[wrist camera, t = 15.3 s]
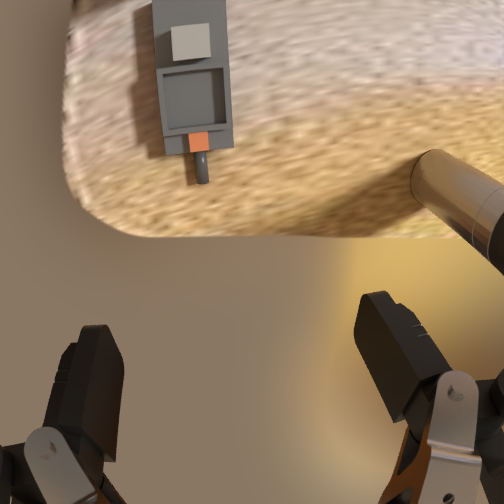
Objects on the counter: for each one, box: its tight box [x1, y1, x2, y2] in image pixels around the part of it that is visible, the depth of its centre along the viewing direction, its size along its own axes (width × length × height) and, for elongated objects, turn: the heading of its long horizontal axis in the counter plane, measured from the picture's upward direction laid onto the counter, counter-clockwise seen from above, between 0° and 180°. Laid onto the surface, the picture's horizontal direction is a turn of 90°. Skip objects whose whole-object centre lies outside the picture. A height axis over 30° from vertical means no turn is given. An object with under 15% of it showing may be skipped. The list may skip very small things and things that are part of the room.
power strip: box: [152, 0, 234, 184], centre depth 30 cm, size 7×22×4 cm, turn 2°
